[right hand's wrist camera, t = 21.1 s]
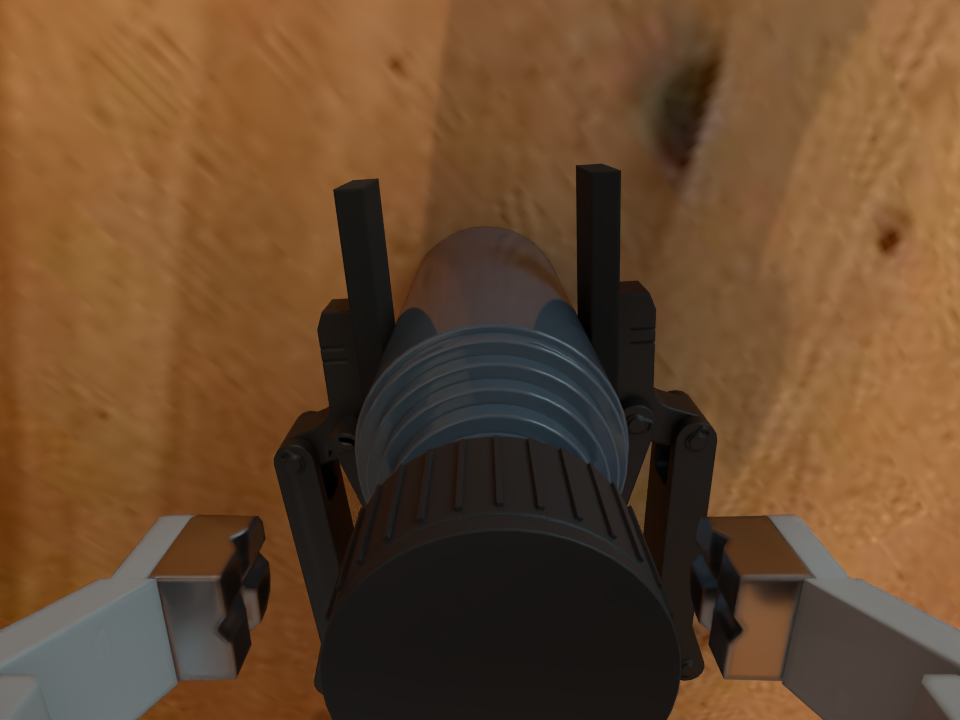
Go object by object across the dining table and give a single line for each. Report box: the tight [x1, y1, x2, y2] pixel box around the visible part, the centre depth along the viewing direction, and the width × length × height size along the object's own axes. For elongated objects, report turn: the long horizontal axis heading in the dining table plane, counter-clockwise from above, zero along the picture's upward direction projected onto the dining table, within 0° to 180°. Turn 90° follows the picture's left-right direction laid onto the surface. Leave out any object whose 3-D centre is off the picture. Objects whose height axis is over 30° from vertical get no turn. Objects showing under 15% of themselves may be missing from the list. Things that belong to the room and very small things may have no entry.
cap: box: [320, 435, 681, 720], centre depth 9 cm, size 5×5×2 cm
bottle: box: [355, 227, 629, 504], centre depth 17 cm, size 6×6×18 cm
